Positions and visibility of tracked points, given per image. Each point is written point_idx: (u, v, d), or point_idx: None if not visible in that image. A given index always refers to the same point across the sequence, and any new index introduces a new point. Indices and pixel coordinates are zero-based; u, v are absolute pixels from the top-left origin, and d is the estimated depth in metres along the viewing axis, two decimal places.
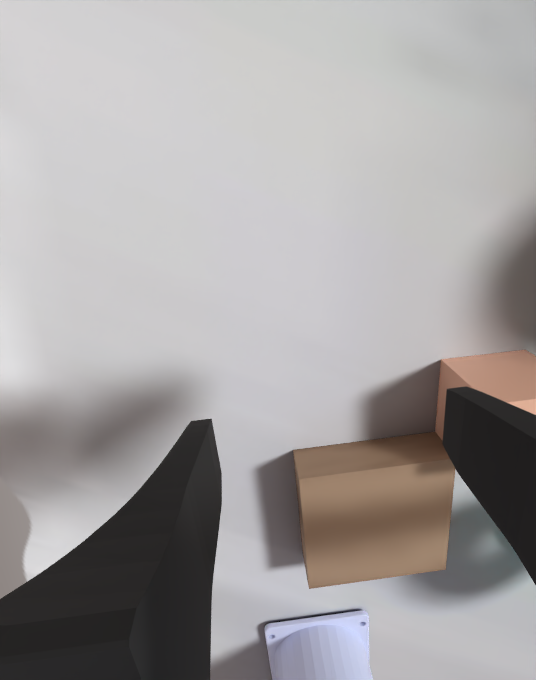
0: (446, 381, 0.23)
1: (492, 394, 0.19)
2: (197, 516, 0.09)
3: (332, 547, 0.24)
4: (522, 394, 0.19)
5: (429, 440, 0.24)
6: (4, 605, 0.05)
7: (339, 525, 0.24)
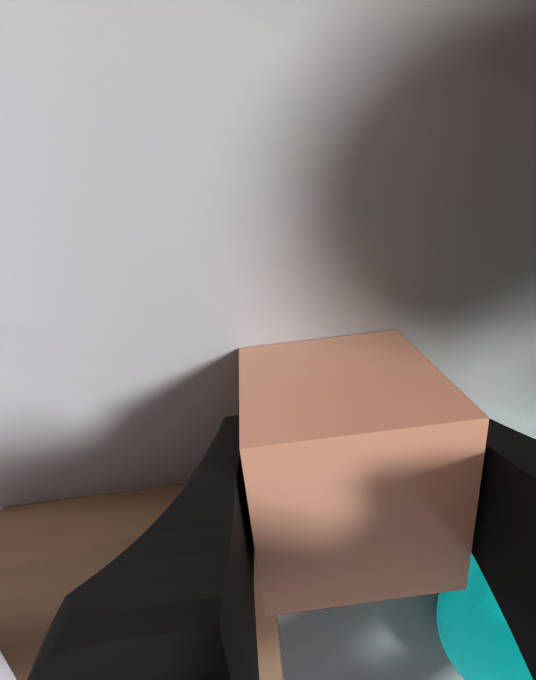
0: None
1: (263, 423, 0.09)
2: (242, 510, 0.09)
3: None
4: (325, 424, 0.08)
5: None
6: (81, 593, 0.05)
7: None
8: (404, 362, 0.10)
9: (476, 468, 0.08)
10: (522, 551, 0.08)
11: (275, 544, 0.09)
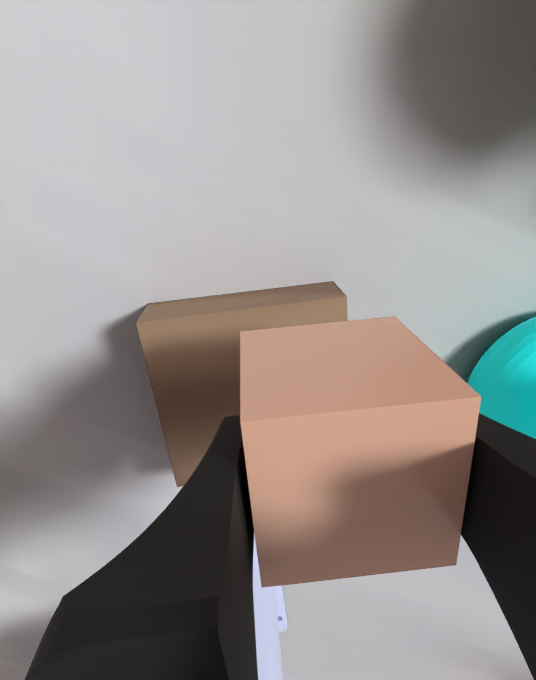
0: None
1: (264, 399, 0.09)
2: (241, 510, 0.09)
3: (198, 427, 0.19)
4: (323, 400, 0.09)
5: (321, 287, 0.19)
6: (79, 595, 0.05)
7: (202, 394, 0.18)
8: (401, 345, 0.11)
9: (468, 446, 0.09)
10: (523, 551, 0.08)
11: (272, 517, 0.09)
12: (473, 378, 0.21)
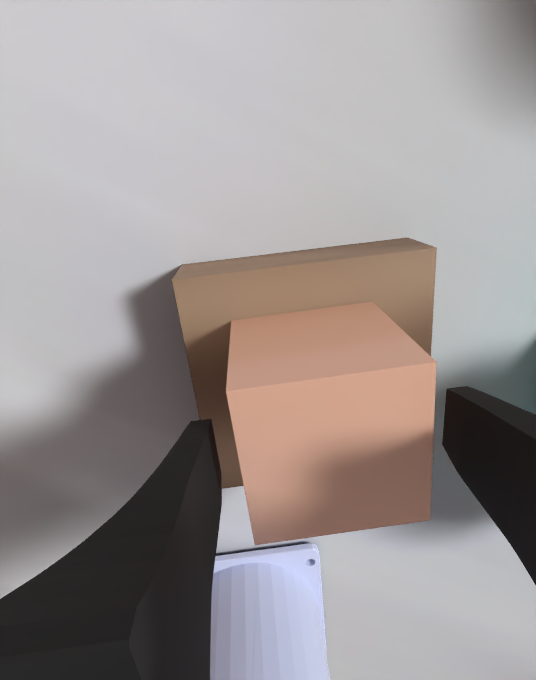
0: None
1: (247, 373, 0.10)
2: (197, 516, 0.09)
3: None
4: (299, 371, 0.10)
5: (395, 242, 0.15)
6: (3, 605, 0.05)
7: None
8: (374, 325, 0.12)
9: (429, 407, 0.10)
10: None
11: (260, 478, 0.10)
12: None
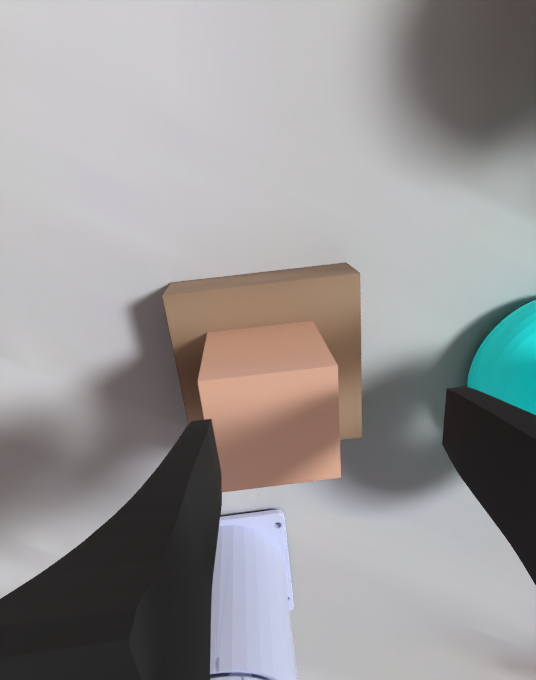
0: None
1: (213, 370, 0.15)
2: (197, 516, 0.09)
3: None
4: (247, 370, 0.14)
5: (335, 266, 0.20)
6: (3, 604, 0.05)
7: None
8: (307, 339, 0.17)
9: (335, 396, 0.15)
10: None
11: (220, 442, 0.15)
12: (478, 358, 0.22)
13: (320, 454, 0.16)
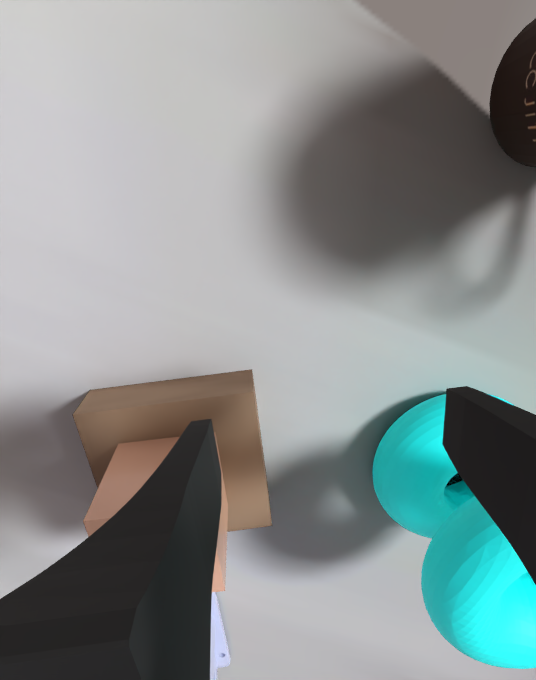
0: None
1: (102, 505, 0.17)
2: (197, 516, 0.09)
3: None
4: None
5: (239, 376, 0.22)
6: (4, 605, 0.05)
7: None
8: None
9: None
10: None
11: None
12: (378, 451, 0.23)
13: None
